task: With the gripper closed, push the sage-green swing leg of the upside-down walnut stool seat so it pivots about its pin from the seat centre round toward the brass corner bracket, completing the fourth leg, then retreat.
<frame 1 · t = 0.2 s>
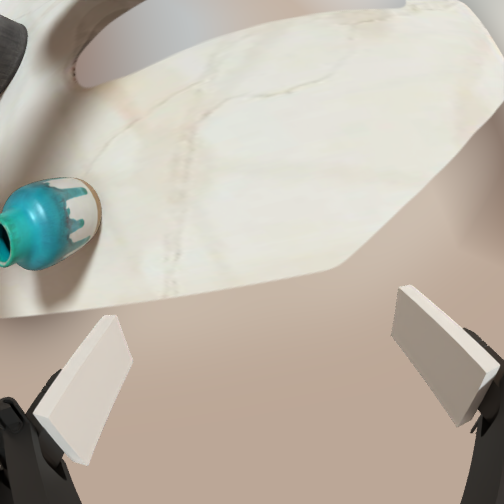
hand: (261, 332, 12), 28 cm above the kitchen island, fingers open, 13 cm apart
vase: (83, 208, 37), on the kitchen island
planter: (0, 62, 27), on the kitchen island
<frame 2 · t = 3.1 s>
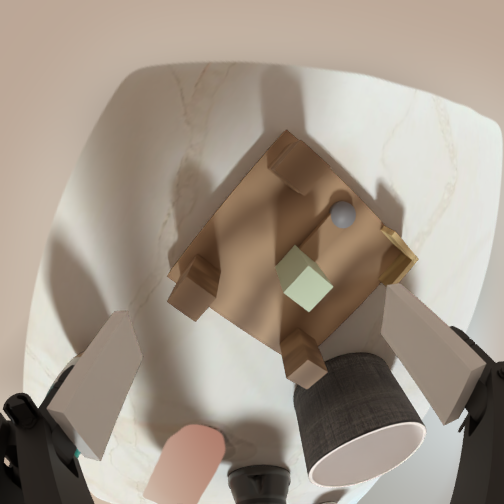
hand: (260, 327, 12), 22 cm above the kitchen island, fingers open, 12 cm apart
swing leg: (326, 248, 29), point 6 cm above the kitchen island, hinge at 0.0°
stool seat: (292, 258, 35), on the kitchen island
planter: (342, 390, 43), on the kitchen island
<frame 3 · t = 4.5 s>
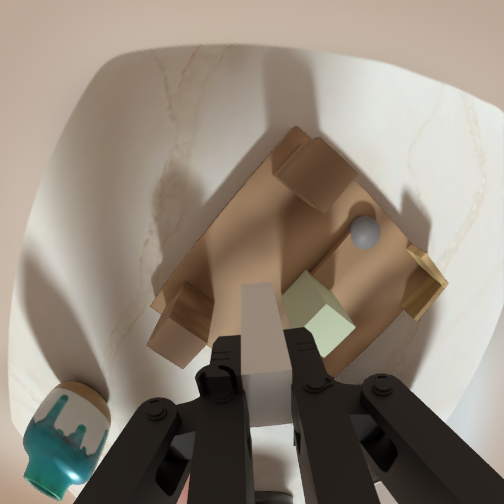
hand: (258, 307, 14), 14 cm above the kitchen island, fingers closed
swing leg: (346, 277, 23), point 6 cm above the kitchen island, hinge at 0.0°
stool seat: (302, 284, 29), on the kitchen island
vase: (88, 394, 34), on the kitchen island
planter: (352, 420, 37), on the kitchen island
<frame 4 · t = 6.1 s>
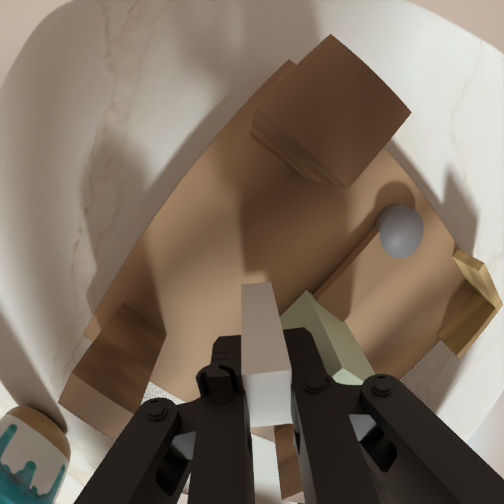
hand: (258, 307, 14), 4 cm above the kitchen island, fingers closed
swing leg: (373, 307, 13), point 6 cm above the kitchen island, hinge at 0.0°, touching gripper
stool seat: (300, 308, 19), on the kitchen island
vase: (47, 420, 24), on the kitchen island
planter: (359, 460, 27), on the kitchen island
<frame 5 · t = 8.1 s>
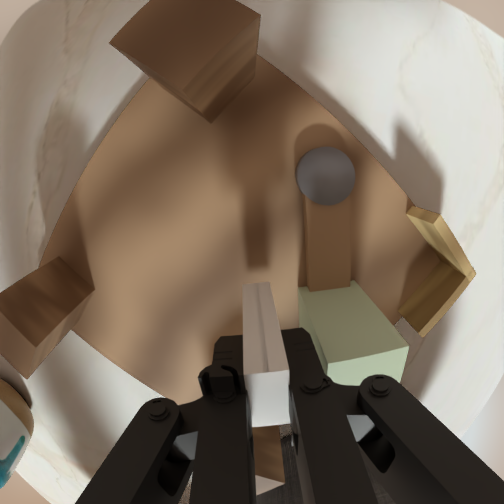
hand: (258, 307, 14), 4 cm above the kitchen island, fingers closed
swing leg: (346, 271, 12), point 6 cm above the kitchen island, hinge at 46.3°, touching gripper
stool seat: (229, 269, 18), on the kitchen island
vase: (15, 394, 23), on the kitchen island
planter: (327, 458, 26), on the kitchen island
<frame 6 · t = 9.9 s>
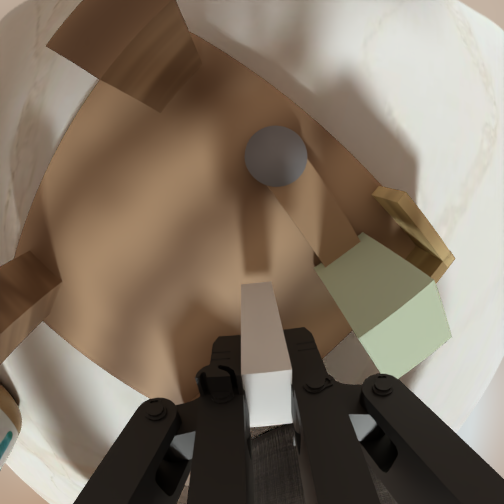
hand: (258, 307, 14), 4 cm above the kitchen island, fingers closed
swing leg: (340, 236, 12), point 6 cm above the kitchen island, hinge at 76.1°
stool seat: (188, 259, 18), on the kitchen island
vase: (4, 391, 23), on the kitchen island
planter: (312, 455, 26), on the kitchen island
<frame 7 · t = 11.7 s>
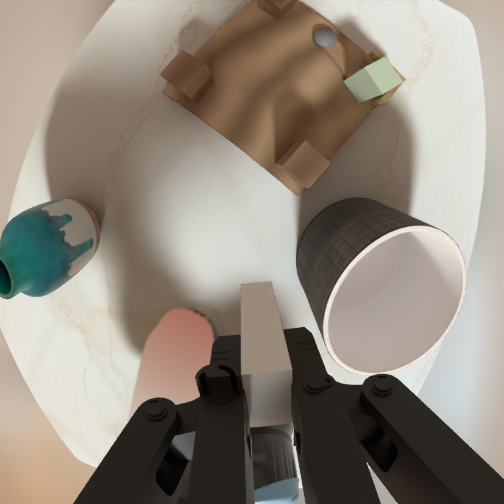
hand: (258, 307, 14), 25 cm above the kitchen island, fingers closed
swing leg: (352, 55, 25), point 6 cm above the kitchen island, hinge at 76.1°
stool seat: (284, 80, 32), on the kitchen island
vase: (82, 226, 37), on the kitchen island
planter: (353, 256, 40), on the kitchen island
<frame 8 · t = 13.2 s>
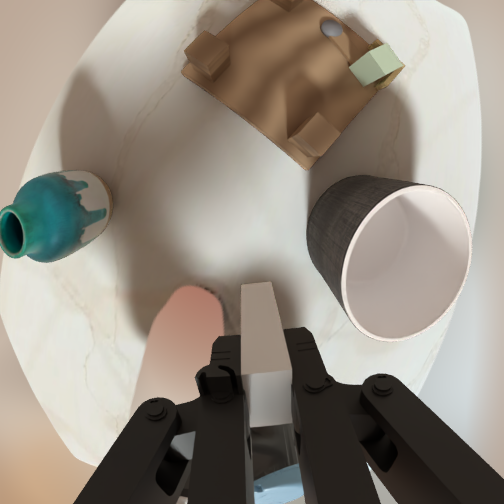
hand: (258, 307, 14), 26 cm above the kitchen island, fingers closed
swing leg: (357, 43, 27), point 6 cm above the kitchen island, hinge at 76.1°
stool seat: (294, 66, 33), on the kitchen island
vase: (93, 202, 38), on the kitchen island
planter: (361, 233, 41), on the kitchen island
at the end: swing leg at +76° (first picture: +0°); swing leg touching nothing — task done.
